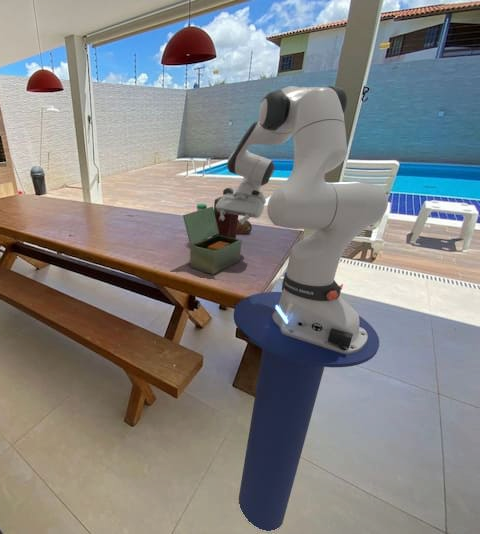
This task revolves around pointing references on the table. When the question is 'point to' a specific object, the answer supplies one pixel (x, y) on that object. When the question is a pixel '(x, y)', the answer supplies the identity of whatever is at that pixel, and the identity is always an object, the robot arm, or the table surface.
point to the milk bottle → (200, 207)
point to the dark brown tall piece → (226, 219)
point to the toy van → (217, 245)
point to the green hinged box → (215, 254)
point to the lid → (201, 224)
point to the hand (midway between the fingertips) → (230, 221)
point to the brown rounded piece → (244, 227)
